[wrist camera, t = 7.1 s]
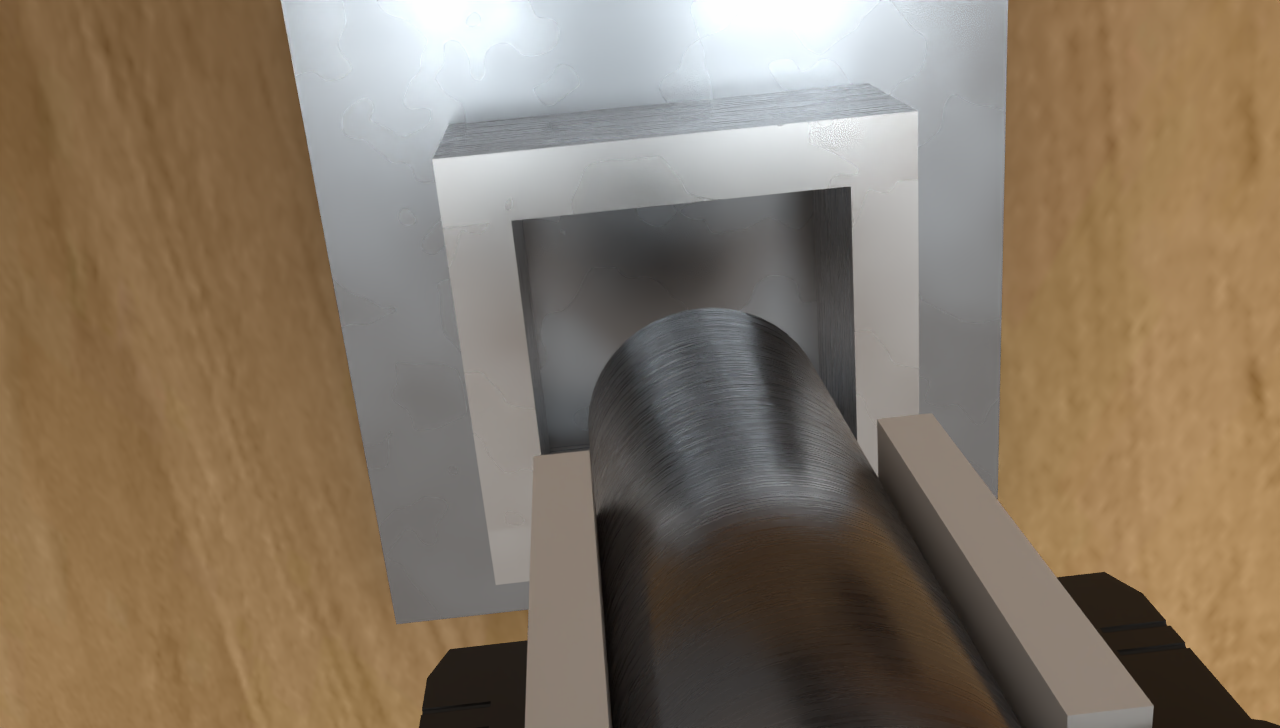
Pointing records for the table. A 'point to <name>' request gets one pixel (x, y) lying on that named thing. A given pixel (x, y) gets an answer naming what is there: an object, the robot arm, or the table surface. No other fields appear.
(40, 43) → the table surface
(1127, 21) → the table surface
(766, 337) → the dark cylinder
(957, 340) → the open box on baseplate
